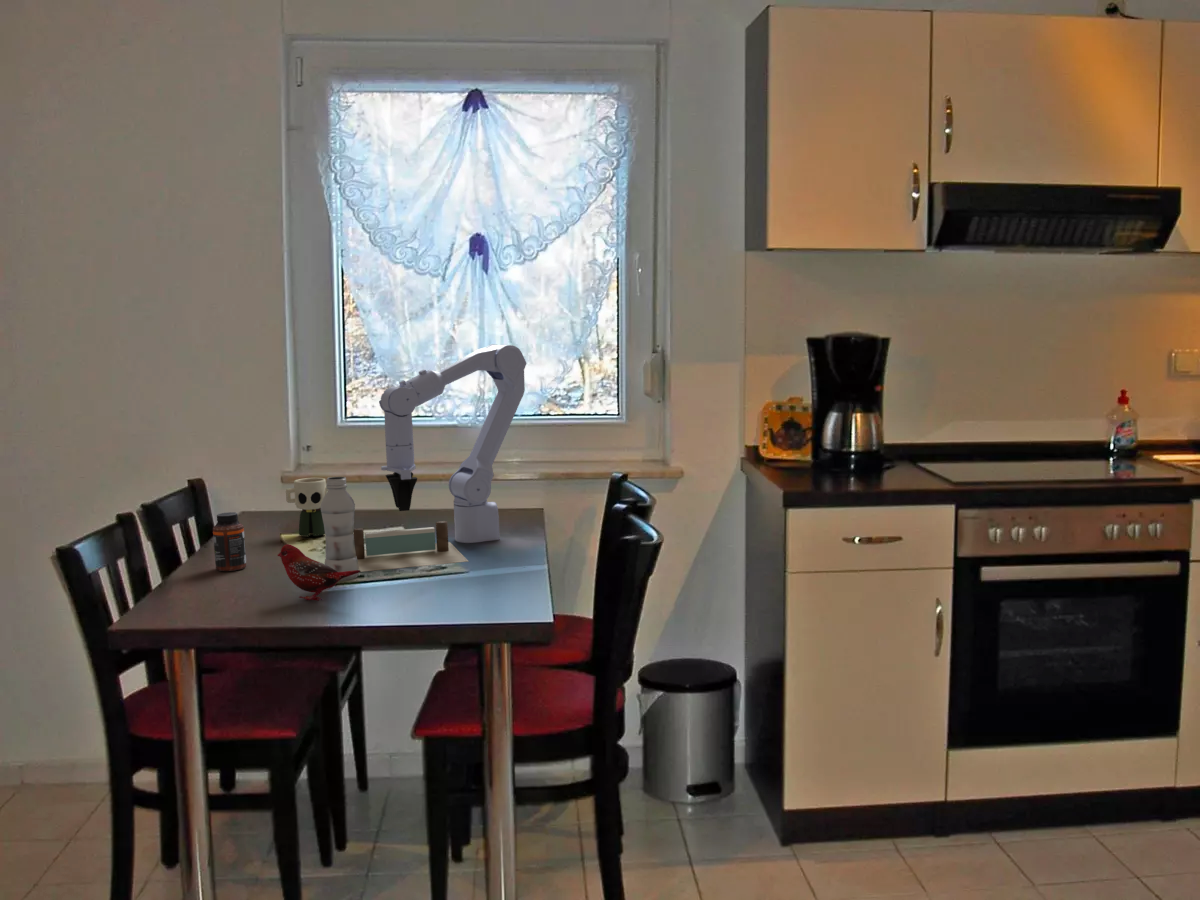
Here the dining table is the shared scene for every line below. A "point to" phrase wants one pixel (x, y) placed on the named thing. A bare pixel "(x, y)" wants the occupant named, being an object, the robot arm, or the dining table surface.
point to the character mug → (309, 504)
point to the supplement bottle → (229, 543)
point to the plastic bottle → (339, 527)
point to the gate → (400, 541)
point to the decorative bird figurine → (309, 572)
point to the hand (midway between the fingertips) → (402, 508)
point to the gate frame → (409, 553)
